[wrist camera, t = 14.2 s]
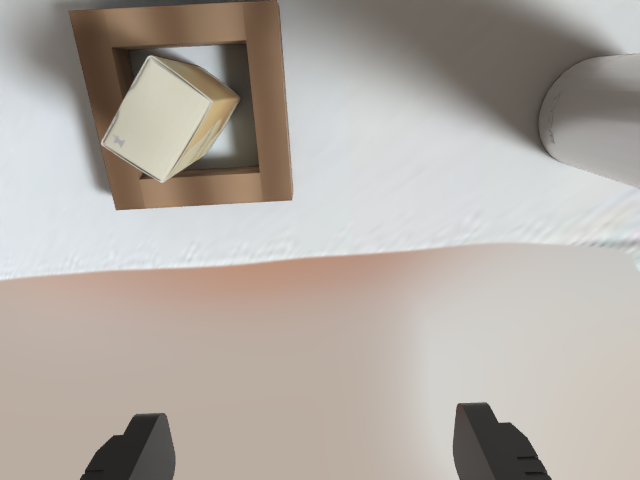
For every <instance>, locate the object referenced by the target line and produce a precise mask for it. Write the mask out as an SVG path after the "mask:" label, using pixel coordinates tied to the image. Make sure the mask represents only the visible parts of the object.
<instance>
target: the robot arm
mask: <svg viewBox="0 0 640 480" xmlns="http://www.w3.org/2000/svg"><path fill="white" fill-rule="evenodd" d="M539 133H540V138H541V141H542V143H543V145H544V147H545V149H546V150H547V151H548V153H549V154H550V155H551V156H552V157H554V158H555V159H556V160H558V161H560V162H562V163H564V164H567V165H570V166H573V167H576V168H579V169H582V170H585V171H588V172H591V173H594V174H597V175H600V176H603V177H606V178H609V179H612V180H615V181H618V182H621V183H624V184H627V185H630V186H634V187H637V188H640V54H626V55H614V56H602V57H594V58H590V59H587V60H584V61H582V62H580V63H578V64H576V65H573V66H572V67H571V68H569V69H568V70H567V71H565V72H564V73H563V74H562V75H561V76H560V77H559V78H558V79H557V80H556V81H555V82H554V83H553V85H552V86H551V88H550V89H549V91H548V92H547V94H546V96H545V99H544V101H543V103H542V106H541V110H540V114H539ZM453 456H454V462H455V467H456V470H457V473H458V475H459V479H460V480H552V479H551V478H550V476H548V475H547V471H546V469H545V467H544V466H543V464H542V462H541V461H540V460H539V459H538V455H537V454H536V452H535V450H534V449H533V447H532V445H531V443H530V442H529V440H528V438H527V437H526V436H525V435H524V434H522V433H521V432H520V431H519V430H518V429H517V428H516V427H515V426H514V425H512V424H511V423H498V421H497V419H496V417H495V415H494V413H493V411H492V410H491V408H490V406H489V405H488V404H487V403H459V404H458V405H457V409H456V418H455V429H454V439H453ZM174 471H175V451H174V447H173V442H172V438H171V433H170V428H169V424H168V420H167V416H166V415H165V414H164V413H153V414H136V415H135V416H134V417H133V418H132V420H131V421H130V423H129V425H128V427H127V429H126V430H125V432H124V434H123V435H116V436H115V435H114V436H113V437H112V438H110V439H109V440H108V441H107V442H106V443H105V444H104V445H103V446H102V447H101V448H100V449H99V450H98V451H97V452H96V453H95V455H94V457H93V458H92V460H91V462H90V463H89V465H88V467H87V468H86V470H85V474H83V475H82V477H81V478H80V480H172V479H173V476H174Z"/></svg>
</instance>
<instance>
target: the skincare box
mask: <svg viewBox="0 0 640 480" xmlns="http://www.w3.org/2000/svg"><path fill="white" fill-rule="evenodd" d="M240 100H241V97H240V96H239V95H238V94H237V93H235V92H234V91H233V90H232V89H230V88H229V87H228V86H226V85H225V84H224V83H222V82H221V81H220V80H218V79H217V78H216V77H214V76H213V75H212V74H210V73H209V72H207V71H206V70H205V69H203V68H202V67H198V66H194V65H190V64H186V63H182V62H177V61H173V60H169V59H165V58H161V57H157V56H153V55H150V56H148V57H147V58H146V60H145V62H144V64H143V65H142V67H141V69H140V71H139V73H138V74H137V76H136V78H135V80H134V82H133V84H132V86H131V87H130V89H129V91H128V92H127V94H126V96H125V98H124V100H123V101H122V103H121V105H120V107H119V109H118V111H117V113H116V115H115V117H114V119H113V121H112V122H111V124H110V126H109V128H108V130H107V132H106V134H105V136H104V138H103V139H102V141H101V145H102V146H104V147H105V148H107V149H108V150H110V151H111V152H113V153H114V154H116V155H117V156H119V157H120V158H122V159H123V160H125V161H126V162H128V163H130V164H131V165H133V166H134V167H136V168H137V169H139V170H140V171H142V172H144V173H145V174H147V175H149V176H150V177H152V178H154V179H156V180H157V181H159V182H161V183H164V182H165V181H166V180H168V179H169V178H171V177H172V176H174V175H175V174H177V173H178V172H180V171H181V170H183V169H184V168H186V167H187V166H189V165H191V164H192V163H194V162H195V161H197V160H198V159H200V158H201V157H203V156H204V155H206V154H207V152H208V151H209V149H210V148H211V147H212V145H213V144H214V142H215V141H216V139H217V138H218V136H219V135H220V133H221V132H222V130H223V129H224V127H225V125H226V124H227V122H228V120H229V119H230V117H231V115H232V114H233V112H234V110H235V108H236V107H237V105H238V103H239V102H240Z"/></svg>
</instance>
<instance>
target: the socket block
mask: <svg viewBox="0 0 640 480" xmlns="http://www.w3.org/2000/svg"><path fill="white" fill-rule="evenodd" d="M69 15H70V19H71V23H72V27H73V31H74V36H75V40H76V44H77V48H78V53H79V57H80V61H81V65H82V69H83V74H84V78H85V82H86V86H87V90H88V95H89V99H90V103H91V107H92V112H93V116H94V120H95V124H96V128H97V133H98V137H99V141H100V145H101V141H102V139H103V138H104V136H105V134H106V132H107V130H108V128H109V126H110V124H111V122H112V121H113V119H114V117H115V115H116V113H117V111H118V109H119V107H120V105H121V103H122V101H123V100H124V98H125V96H126V94H127V92H128V91H129V89H130V87H131V86H132V84H133V82H134V79H133V74H132V69H131V64H130V59H129V54H128V50H135V49H154V48H173V47H191V46H210V45H229V44H247V54H248V63H249V73H250V83H251V92H252V102H253V112H254V121H255V131H256V141H257V150H258V160H259V166H254V167H236V168H218V169H200V170H182V171H180V172H178V173H177V174H175V175H174V176H172V177H171V178H169V179H168V180H166V181H165V182H164V183H161V182H159V181H157V180H156V179H154V178H152V177H150V176H149V175H147V174H145V173H144V172H142V171H140V170H139V169H137V168H136V167H134V166H133V165H131V164H130V163H128V162H126V161H125V160H123V159H122V158H120V157H119V156H117V155H116V154H114V153H113V152H111V151H110V150H108V149H107V148H105V147H104V146H102V145H101V149H102V154H103V158H104V162H105V166H106V171H107V175H108V179H109V183H110V187H111V192H112V196H113V200H114V204H115V208H116V210H129V209H146V208H164V207H182V206H199V205H217V204H235V203H253V202H270V201H288V200H292V197H293V182H292V169H291V156H290V142H289V129H288V116H287V102H286V89H285V76H284V63H283V49H282V36H281V23H280V10H279V5H278V2H277V0H268V1H249V2H229V3H210V4H191V5H172V6H153V7H133V8H114V9H95V10H76V11H69Z"/></svg>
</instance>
